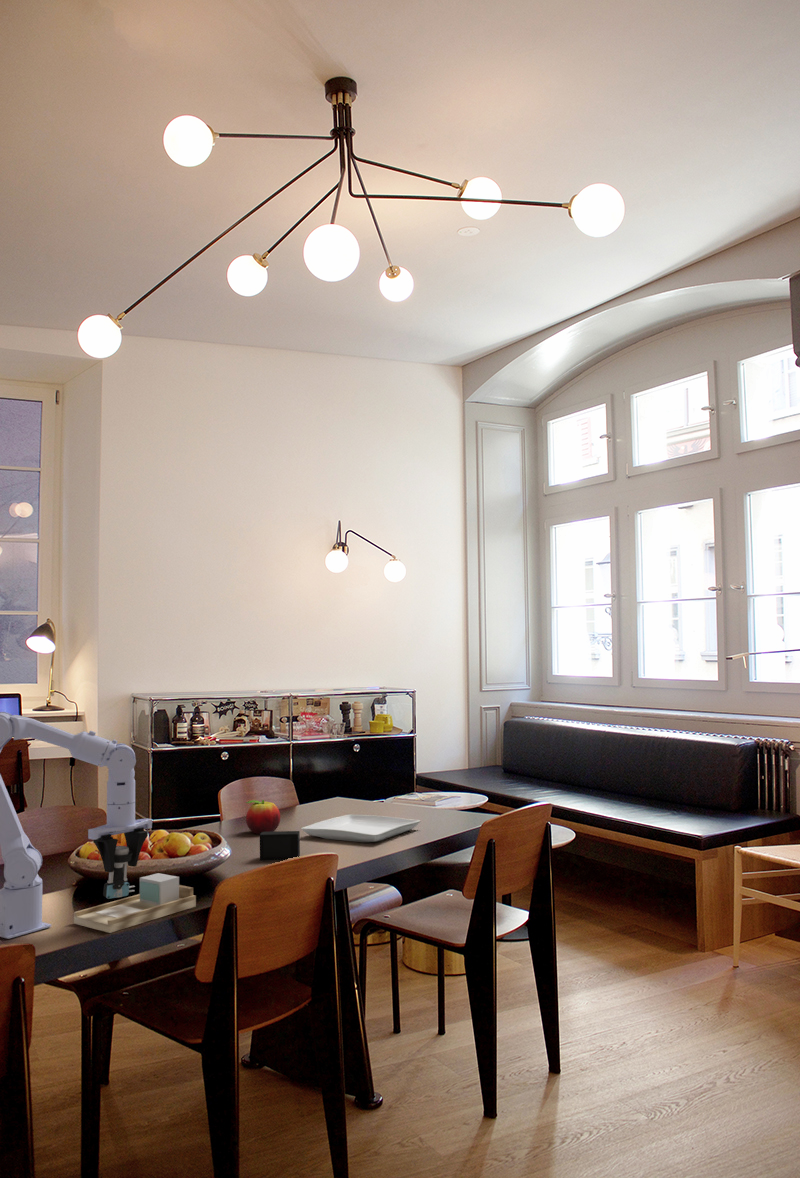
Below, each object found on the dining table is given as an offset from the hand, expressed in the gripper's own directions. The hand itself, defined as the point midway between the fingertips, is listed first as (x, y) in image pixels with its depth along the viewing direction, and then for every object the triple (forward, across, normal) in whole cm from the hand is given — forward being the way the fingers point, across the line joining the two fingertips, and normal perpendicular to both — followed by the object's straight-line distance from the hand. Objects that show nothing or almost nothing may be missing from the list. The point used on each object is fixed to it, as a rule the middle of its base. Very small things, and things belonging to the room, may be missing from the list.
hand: (120, 868), depth 184 cm
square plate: (+11, +97, +12) cm, 98 cm away
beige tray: (+10, +4, 0) cm, 11 cm away
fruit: (+11, +84, +41) cm, 94 cm away
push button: (+6, 0, +1) cm, 6 cm away
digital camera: (+11, +60, +11) cm, 62 cm away
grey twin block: (+9, +10, 0) cm, 13 cm away
